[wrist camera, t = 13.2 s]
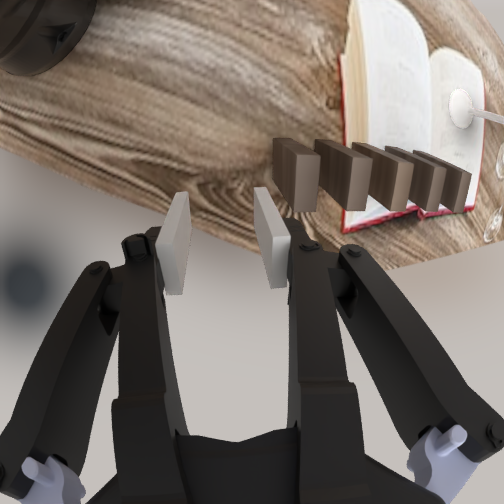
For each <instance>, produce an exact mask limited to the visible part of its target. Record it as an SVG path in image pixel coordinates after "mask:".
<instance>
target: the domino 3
mask: <svg viewBox="0 0 504 504" xmlns="http://www.w3.org/2000/svg"><path fill="white" fill-rule="evenodd" d="M352 150H355V151H357V152H359V153H361V154H363V155H365V156H367V157H369V158H372V159H373V160H372V169H371V176H370V183H369V190H368V194H369V195H370V196H371V197H373V198H374V199H375V200H376V201H378V202H379V203H380V204H382V205H383V206H384V207H385V208H387V209H388V210H389V211H405V210H406V205H407V201H408V196H409V191H410V186H411V180H412V174H413V168H414V164H413V163H411V162H408V161H406V160H404V159H402V158H400V157H397V156H395V155H393V154H391V153H388V152H386V151H383V150H381V149H379V148H376V147H374V146H371V145H369V144H366V143H356V142H352Z"/></svg>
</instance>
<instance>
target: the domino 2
mask: <svg viewBox="0 0 504 504" xmlns="http://www.w3.org/2000/svg"><path fill="white" fill-rule="evenodd" d="M314 152H315V153H317V154H319V155H320V156H321V157H320V171H319V183H318V184H319V185H320V186H321V187H322V188H323V189H324V190H325V191H326V192H327V193H328V194H329V195H330V196H331V197H332V198H333V199H334V200H336V201H337V202H338V203H339V204H340V205H341V206H342V207H343V208H344V209H345V210H346V211H365V209H366V203H367V197H368V190H369V183H370V176H371V169H372V160H373V159H372V158H369V157H367V156H365V155H363V154H361V153H359V152H357V151H355V150H352V149H350V148H348V147H346V146H343V145H341V144H339V143H336V142H334V141H332V140H320V139H315V151H314Z"/></svg>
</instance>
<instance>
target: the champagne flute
mask: <svg viewBox="0 0 504 504" xmlns="http://www.w3.org/2000/svg"><path fill="white" fill-rule="evenodd" d="M449 111H450V115H451V118H452V120H453V122H454V124H455V125H456V126H457V127H459V128H461V129H465V128H467V127H468V126H469V125H470V123H471V122H472V119H473V115H475V116H478V117H482V118H485V119H489V120H492V121H495V122H498V123H501V124H504V116H501V115H498V114H495V113H491V112H487V111H484V110H480V109H476V108H473V104H472V101H471V98H470V97H469V95H468V94H467V92H466V91H464V90H463V89H456V90H454V91H453V92H452V94H451V96H450V100H449Z"/></svg>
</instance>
